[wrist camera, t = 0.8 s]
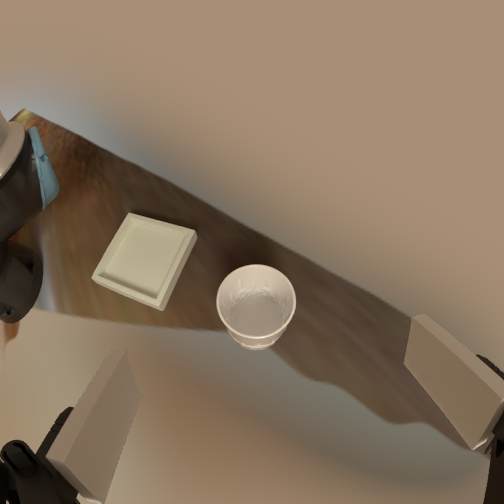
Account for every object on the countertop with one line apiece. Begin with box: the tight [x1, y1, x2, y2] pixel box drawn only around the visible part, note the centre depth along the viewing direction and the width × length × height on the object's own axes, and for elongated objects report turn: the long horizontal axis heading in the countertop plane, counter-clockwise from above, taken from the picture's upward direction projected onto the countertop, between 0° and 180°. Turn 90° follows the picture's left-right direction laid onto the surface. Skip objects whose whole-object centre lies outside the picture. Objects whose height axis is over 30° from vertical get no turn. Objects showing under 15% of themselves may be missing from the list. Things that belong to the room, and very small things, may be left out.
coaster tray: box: [91, 213, 198, 311], centre depth 41 cm, size 13×13×2 cm
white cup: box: [216, 264, 296, 350], centre depth 32 cm, size 8×8×10 cm
